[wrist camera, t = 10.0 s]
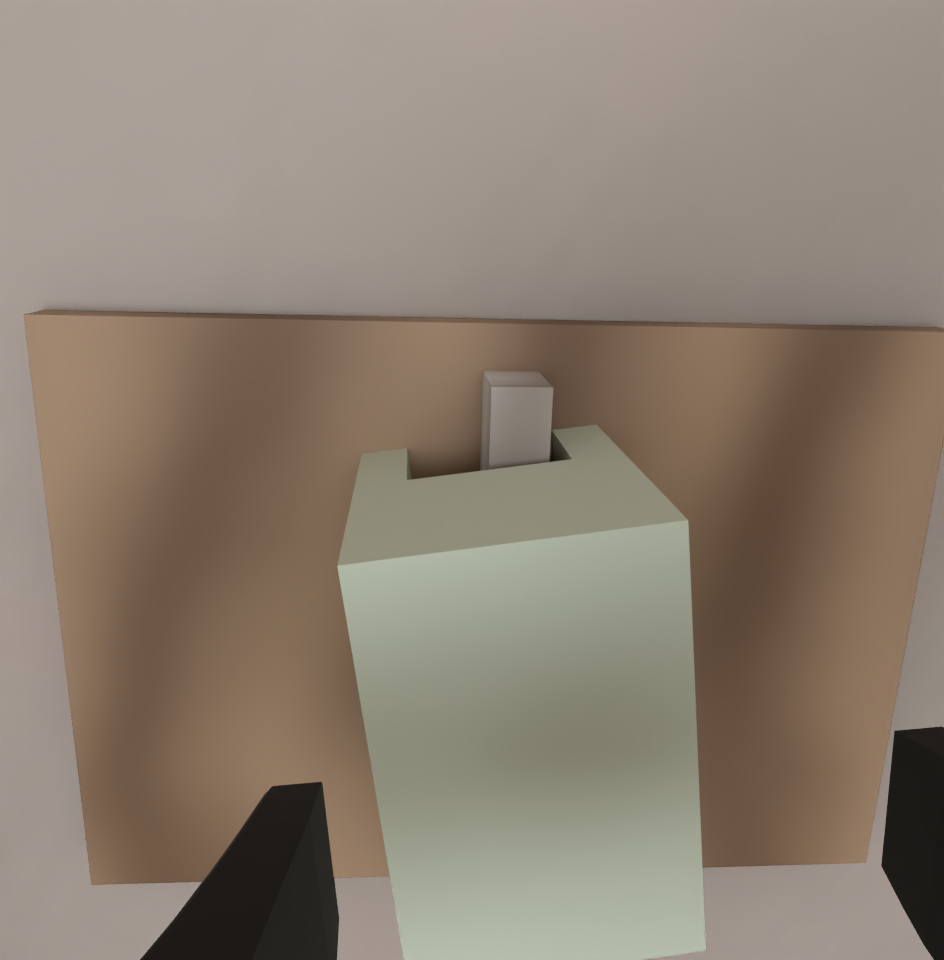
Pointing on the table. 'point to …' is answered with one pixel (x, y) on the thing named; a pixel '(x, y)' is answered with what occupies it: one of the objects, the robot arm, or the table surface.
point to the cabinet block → (529, 704)
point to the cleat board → (452, 450)
